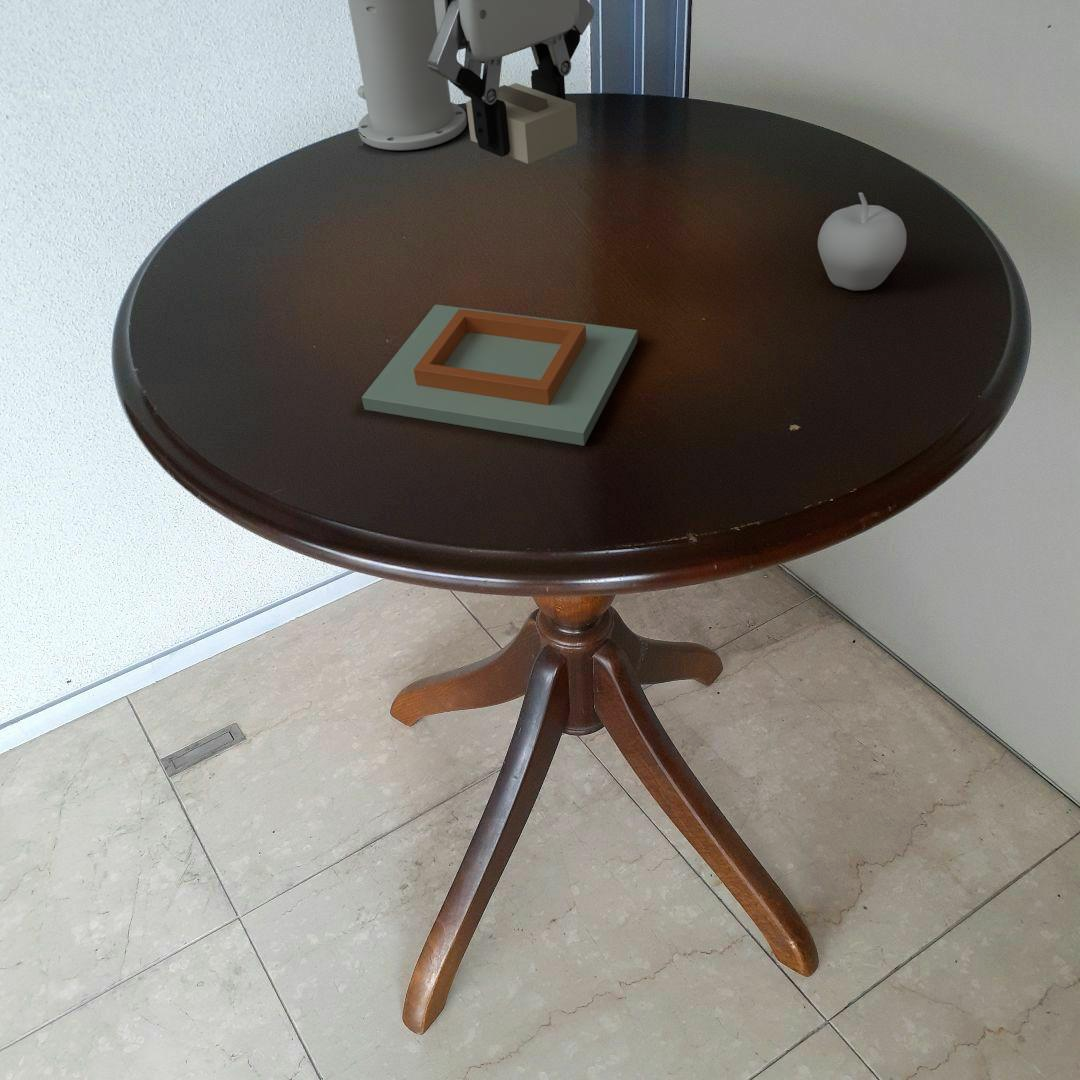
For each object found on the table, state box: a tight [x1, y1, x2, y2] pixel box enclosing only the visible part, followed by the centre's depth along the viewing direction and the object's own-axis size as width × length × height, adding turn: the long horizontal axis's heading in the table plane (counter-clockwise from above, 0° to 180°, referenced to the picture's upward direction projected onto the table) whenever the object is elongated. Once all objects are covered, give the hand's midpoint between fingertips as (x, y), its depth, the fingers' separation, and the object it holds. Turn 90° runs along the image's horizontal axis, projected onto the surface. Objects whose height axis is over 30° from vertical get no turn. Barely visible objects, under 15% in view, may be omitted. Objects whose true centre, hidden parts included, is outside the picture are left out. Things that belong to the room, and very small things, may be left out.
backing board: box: [361, 304, 638, 447], centre depth 81 cm, size 18×14×3 cm
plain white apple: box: [817, 191, 907, 292], centre depth 85 cm, size 7×7×8 cm
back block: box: [465, 82, 579, 165], centre depth 78 cm, size 7×5×4 cm
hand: (522, 136), depth 79 cm, fingers closed on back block, 5 cm apart
